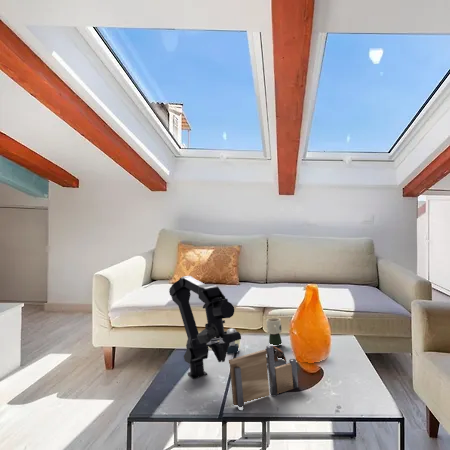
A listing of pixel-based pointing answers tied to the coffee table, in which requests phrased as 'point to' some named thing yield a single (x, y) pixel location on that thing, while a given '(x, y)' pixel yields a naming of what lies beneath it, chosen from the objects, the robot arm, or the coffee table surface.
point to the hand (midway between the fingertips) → (221, 361)
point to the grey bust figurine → (232, 344)
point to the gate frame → (272, 377)
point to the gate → (251, 376)
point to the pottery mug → (277, 354)
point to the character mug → (274, 330)
